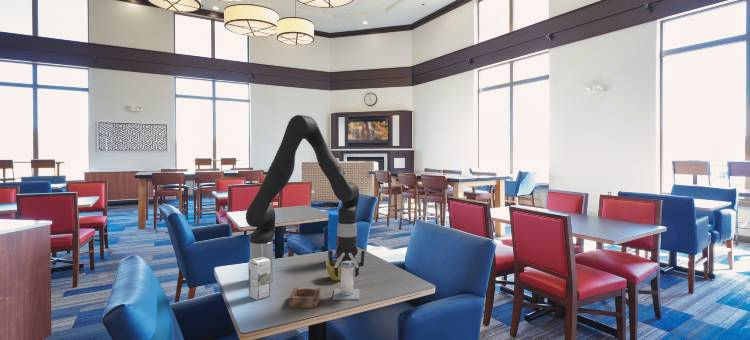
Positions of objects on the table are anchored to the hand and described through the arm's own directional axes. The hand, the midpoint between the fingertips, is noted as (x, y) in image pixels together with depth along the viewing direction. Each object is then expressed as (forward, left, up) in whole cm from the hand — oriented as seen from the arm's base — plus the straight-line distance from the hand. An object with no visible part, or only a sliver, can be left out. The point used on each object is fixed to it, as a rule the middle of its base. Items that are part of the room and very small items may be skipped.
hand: (346, 276), depth 147 cm
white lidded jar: (0, 0, -7) cm, 7 cm away
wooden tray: (-15, -7, -7) cm, 18 cm away
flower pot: (-5, +19, -8) cm, 21 cm away
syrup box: (-33, -2, -8) cm, 34 cm away
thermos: (-6, +43, -8) cm, 44 cm away
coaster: (0, 0, -7) cm, 7 cm away
